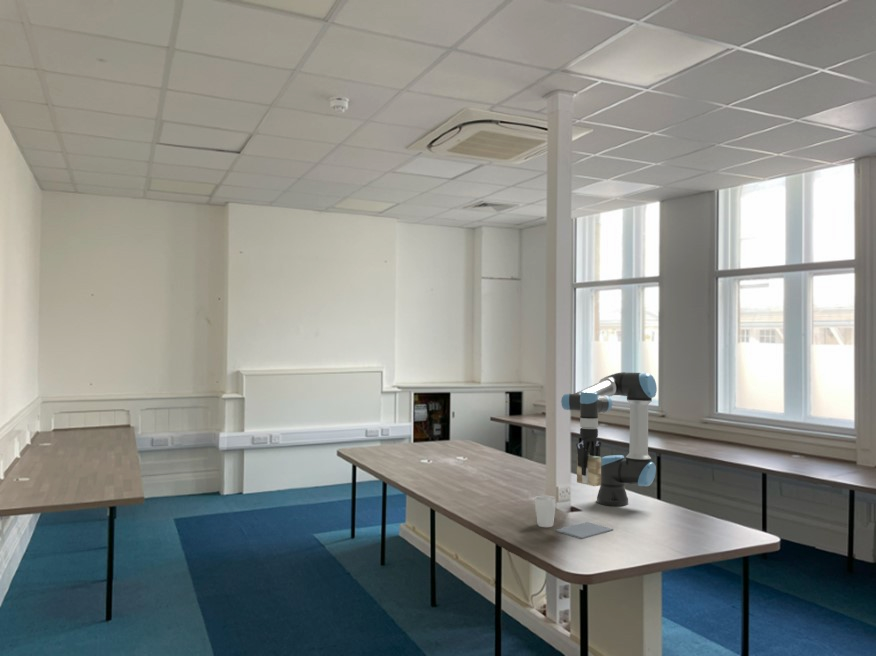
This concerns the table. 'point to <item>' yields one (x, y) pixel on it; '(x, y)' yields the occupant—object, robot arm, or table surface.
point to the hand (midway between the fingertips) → (588, 482)
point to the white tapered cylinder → (545, 510)
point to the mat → (584, 530)
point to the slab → (591, 471)
